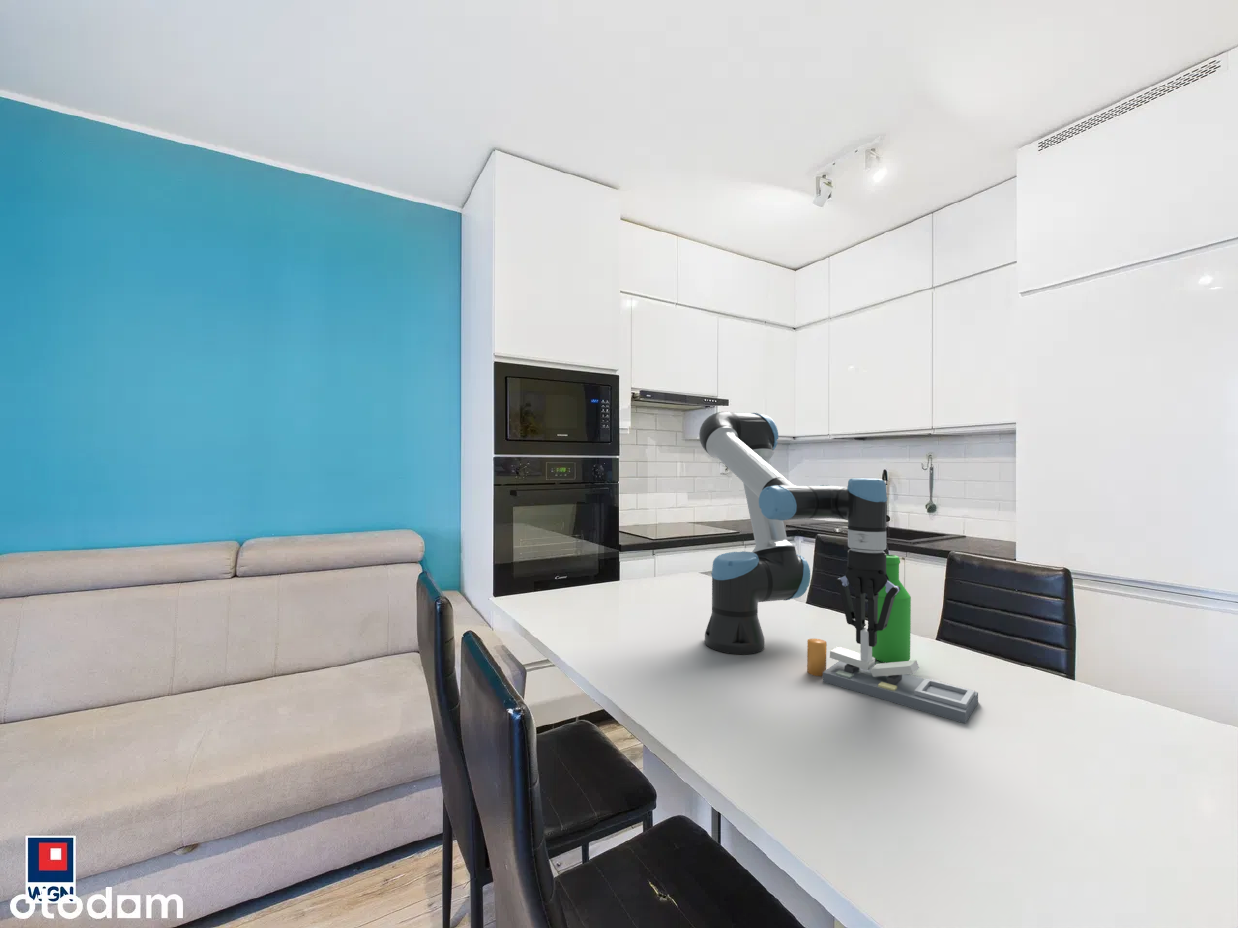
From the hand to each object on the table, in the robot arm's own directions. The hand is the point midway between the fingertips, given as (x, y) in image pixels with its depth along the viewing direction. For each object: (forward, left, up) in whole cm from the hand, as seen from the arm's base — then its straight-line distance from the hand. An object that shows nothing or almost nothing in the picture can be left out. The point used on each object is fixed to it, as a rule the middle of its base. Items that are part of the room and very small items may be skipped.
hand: (866, 659), depth 112 cm
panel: (+6, 0, -5) cm, 8 cm away
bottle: (-1, +19, -5) cm, 20 cm away
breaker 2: (+6, 0, 0) cm, 6 cm away
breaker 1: (-3, 0, 0) cm, 3 cm away
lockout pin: (-10, -2, -5) cm, 11 cm away
